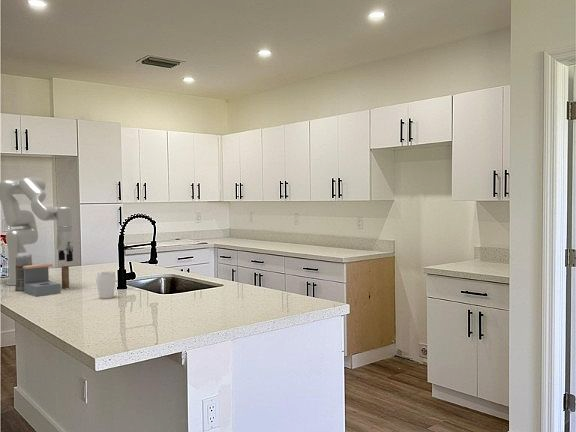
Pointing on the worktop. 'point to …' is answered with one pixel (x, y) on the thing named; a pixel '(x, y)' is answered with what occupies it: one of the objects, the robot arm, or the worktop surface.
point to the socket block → (39, 281)
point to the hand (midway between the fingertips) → (65, 260)
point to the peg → (65, 277)
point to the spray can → (21, 269)
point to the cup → (106, 284)
